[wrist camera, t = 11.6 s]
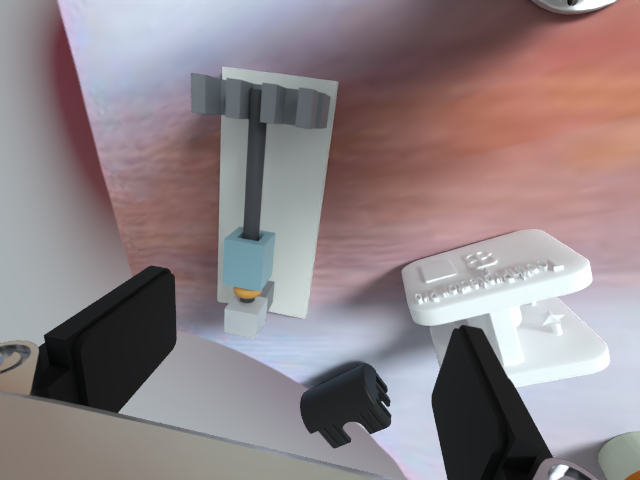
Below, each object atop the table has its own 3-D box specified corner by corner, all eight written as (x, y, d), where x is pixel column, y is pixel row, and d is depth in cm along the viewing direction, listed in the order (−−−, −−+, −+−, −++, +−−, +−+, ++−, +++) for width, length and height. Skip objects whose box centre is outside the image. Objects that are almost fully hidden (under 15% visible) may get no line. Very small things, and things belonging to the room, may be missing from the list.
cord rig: (227, 68, 35) (180, 51, 27) (338, 82, 34) (327, 69, 25) (220, 297, 45) (185, 338, 36) (307, 313, 44) (291, 360, 35)
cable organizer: (423, 331, 42) (441, 403, 32) (397, 258, 40) (407, 310, 29) (551, 300, 39) (622, 370, 28) (533, 218, 36) (604, 260, 25)
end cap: (363, 349, 45) (361, 387, 38) (391, 386, 46) (395, 429, 40) (305, 378, 48) (294, 417, 41) (333, 412, 49) (328, 455, 43)
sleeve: (239, 226, 36) (224, 238, 32) (275, 232, 35) (264, 245, 31) (237, 268, 37) (222, 284, 34) (271, 274, 37) (260, 291, 33)
